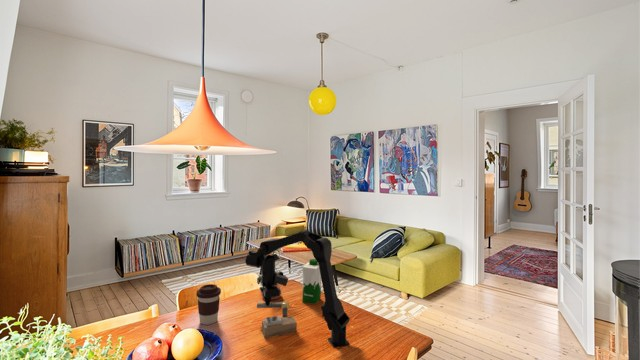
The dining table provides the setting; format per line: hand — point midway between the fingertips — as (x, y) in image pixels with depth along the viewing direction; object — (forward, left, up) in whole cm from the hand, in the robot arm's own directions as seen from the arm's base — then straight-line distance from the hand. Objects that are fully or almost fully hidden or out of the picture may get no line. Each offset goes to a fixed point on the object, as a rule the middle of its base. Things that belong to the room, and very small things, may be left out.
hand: (267, 305), depth 139 cm
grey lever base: (-6, -3, -7) cm, 10 cm away
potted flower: (+27, -9, -8) cm, 29 cm away
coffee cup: (+10, +23, -8) cm, 27 cm away
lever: (+1, -3, -1) cm, 3 cm away
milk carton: (+16, -26, -8) cm, 31 cm away
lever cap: (-9, -1, -4) cm, 9 cm away
